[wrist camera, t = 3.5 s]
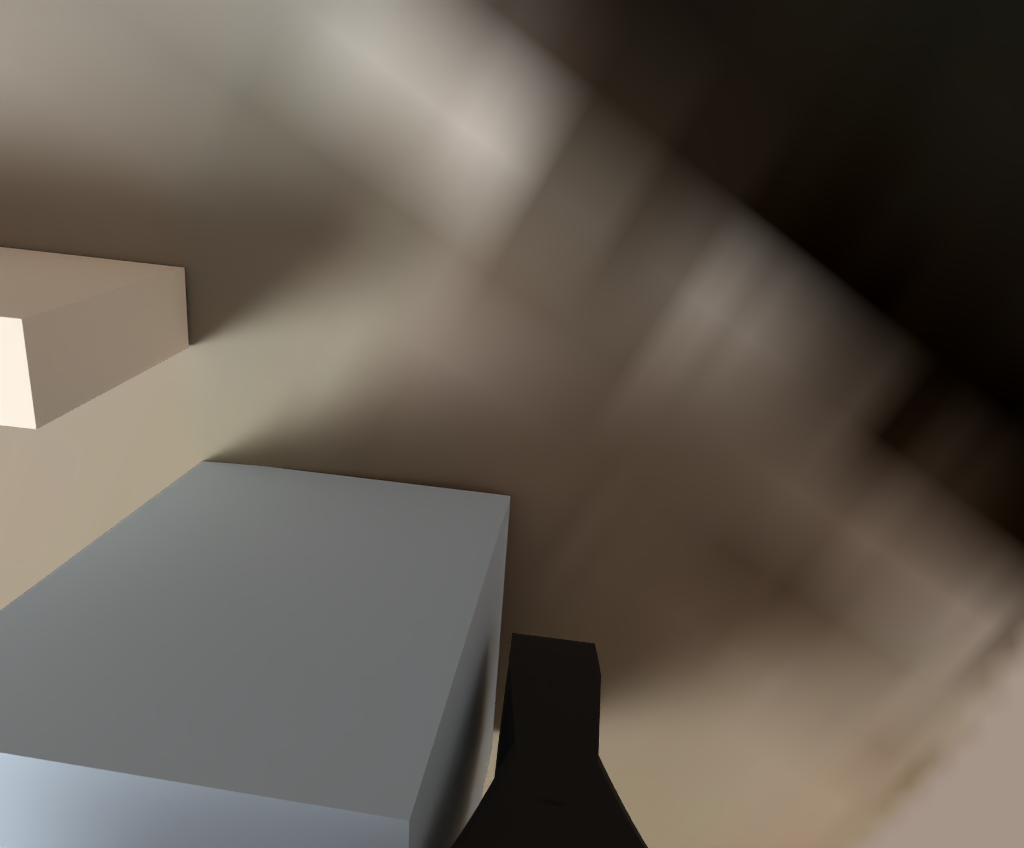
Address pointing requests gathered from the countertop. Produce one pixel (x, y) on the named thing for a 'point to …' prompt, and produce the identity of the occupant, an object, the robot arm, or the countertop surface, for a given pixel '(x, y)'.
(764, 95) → the countertop surface
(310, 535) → the block
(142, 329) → the channel
